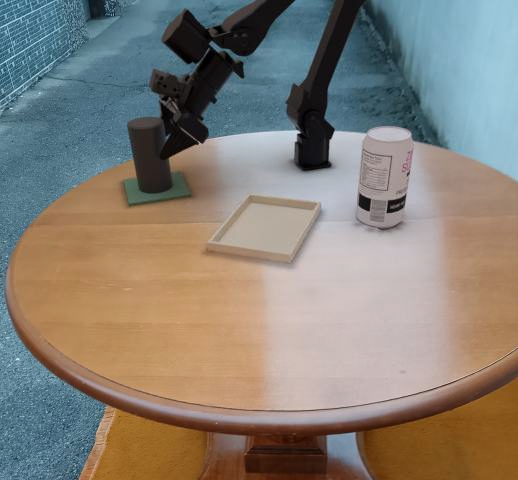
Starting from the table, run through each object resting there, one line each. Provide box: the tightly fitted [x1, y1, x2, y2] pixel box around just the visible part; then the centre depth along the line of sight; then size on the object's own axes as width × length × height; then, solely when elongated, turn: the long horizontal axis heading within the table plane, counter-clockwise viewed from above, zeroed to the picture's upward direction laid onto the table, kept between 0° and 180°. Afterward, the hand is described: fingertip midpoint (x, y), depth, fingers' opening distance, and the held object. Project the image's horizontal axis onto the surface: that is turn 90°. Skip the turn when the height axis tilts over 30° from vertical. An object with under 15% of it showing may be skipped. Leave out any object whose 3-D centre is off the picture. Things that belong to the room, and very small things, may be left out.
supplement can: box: [355, 125, 415, 230], centre depth 90 cm, size 8×8×15 cm
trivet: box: [122, 170, 192, 207], centre depth 108 cm, size 12×12×1 cm
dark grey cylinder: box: [126, 116, 173, 194], centre depth 104 cm, size 7×7×13 cm
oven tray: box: [206, 192, 322, 264], centre depth 93 cm, size 19×14×2 cm
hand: (156, 150), depth 103 cm, fingers open, 9 cm apart
